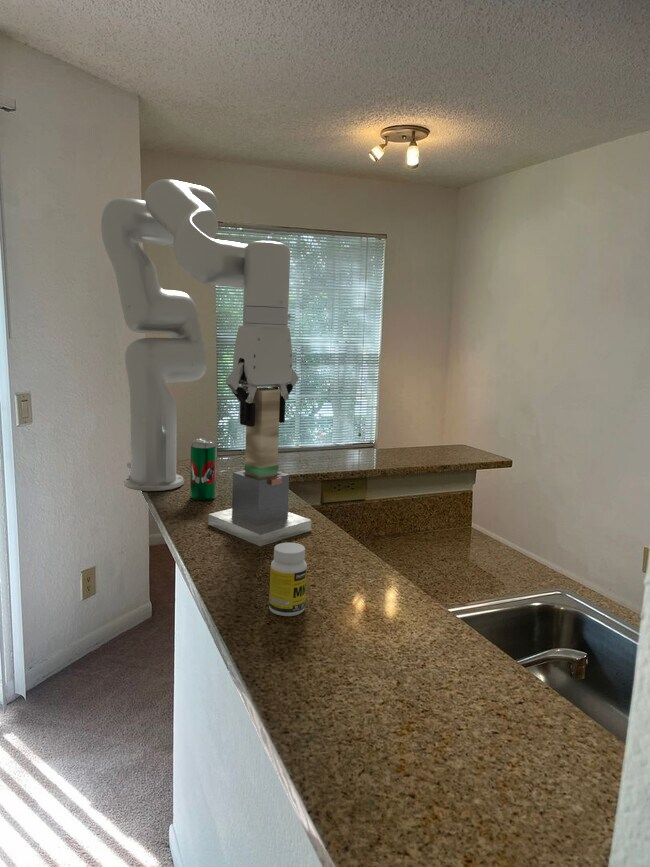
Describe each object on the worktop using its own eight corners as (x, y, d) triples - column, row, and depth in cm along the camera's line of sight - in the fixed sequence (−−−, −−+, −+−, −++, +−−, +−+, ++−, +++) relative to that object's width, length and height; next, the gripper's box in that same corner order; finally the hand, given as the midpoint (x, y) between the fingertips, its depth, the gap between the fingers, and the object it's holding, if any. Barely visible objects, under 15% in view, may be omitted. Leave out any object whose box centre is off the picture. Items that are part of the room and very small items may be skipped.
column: (244, 478, 110) (246, 388, 107) (262, 475, 113) (264, 387, 110) (259, 483, 107) (262, 391, 104) (277, 479, 110) (280, 389, 107)
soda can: (218, 495, 130) (219, 439, 128) (211, 502, 125) (212, 444, 123) (194, 493, 130) (195, 437, 128) (186, 500, 125) (187, 442, 123)
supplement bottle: (296, 620, 78) (299, 557, 77) (262, 612, 80) (264, 550, 78) (310, 604, 83) (313, 544, 81) (278, 597, 84) (280, 538, 83)
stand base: (208, 524, 112) (209, 470, 110) (259, 511, 121) (260, 461, 119) (260, 546, 103) (261, 487, 101) (310, 530, 111) (313, 476, 109)
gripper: (287, 319, 114) (283, 416, 117) (210, 315, 101) (208, 425, 104) (317, 320, 109) (312, 422, 112) (239, 317, 96) (237, 432, 99)
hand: (262, 422), depth 108 cm, fingers open, 6 cm apart
